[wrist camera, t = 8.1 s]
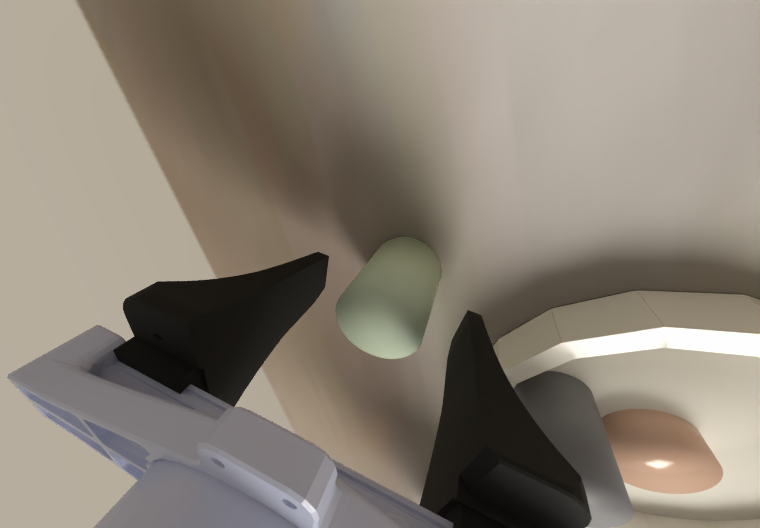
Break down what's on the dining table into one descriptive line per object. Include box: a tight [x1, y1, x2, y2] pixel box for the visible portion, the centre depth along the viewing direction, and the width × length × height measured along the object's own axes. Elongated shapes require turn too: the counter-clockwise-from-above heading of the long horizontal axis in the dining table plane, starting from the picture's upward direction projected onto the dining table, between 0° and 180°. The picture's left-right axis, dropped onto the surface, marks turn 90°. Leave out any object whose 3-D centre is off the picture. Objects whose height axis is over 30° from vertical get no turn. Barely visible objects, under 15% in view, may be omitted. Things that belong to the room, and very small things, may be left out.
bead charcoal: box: [513, 371, 634, 528], centre depth 13 cm, size 4×4×5 cm
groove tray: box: [493, 290, 760, 528], centre depth 14 cm, size 17×17×2 cm
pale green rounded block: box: [336, 237, 441, 359], centre depth 14 cm, size 4×4×5 cm
